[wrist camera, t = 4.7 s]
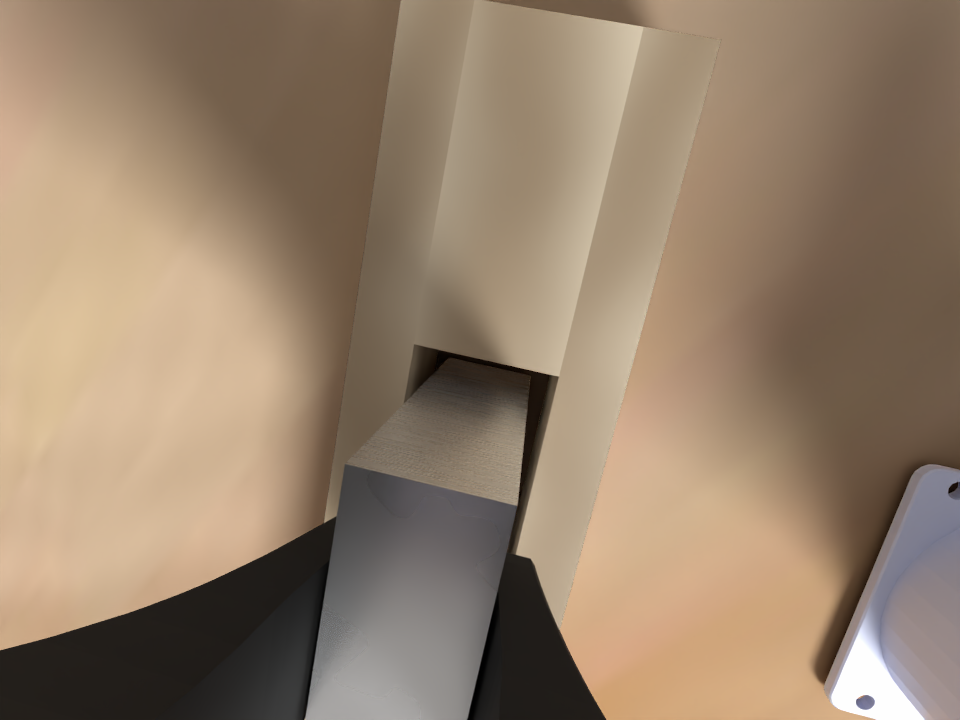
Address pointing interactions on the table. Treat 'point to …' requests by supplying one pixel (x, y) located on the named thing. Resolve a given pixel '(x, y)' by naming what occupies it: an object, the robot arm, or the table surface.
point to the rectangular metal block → (421, 550)
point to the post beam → (522, 232)
